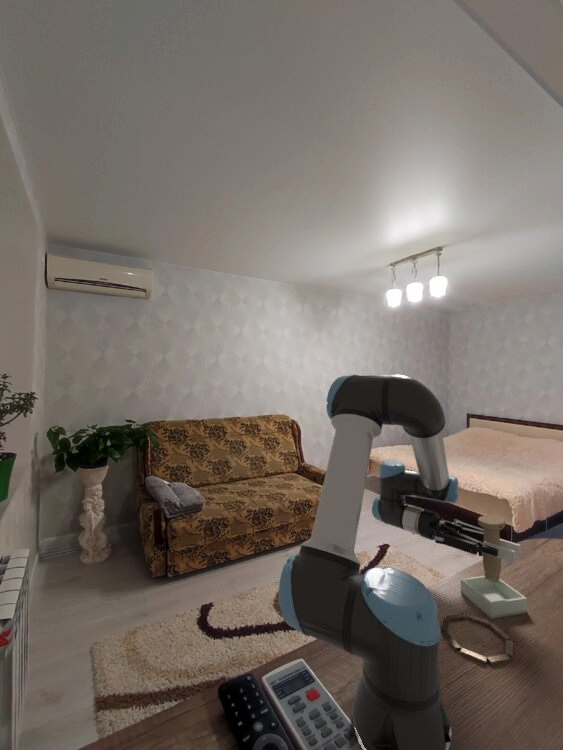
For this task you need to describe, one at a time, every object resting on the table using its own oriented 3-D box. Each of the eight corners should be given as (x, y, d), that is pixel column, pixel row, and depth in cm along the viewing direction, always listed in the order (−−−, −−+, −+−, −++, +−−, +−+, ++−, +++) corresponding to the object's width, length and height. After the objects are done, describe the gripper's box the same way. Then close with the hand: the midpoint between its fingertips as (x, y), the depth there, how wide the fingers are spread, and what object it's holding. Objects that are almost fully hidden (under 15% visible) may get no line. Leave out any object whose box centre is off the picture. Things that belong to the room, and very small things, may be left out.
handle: (510, 581, 84) (509, 521, 84) (491, 587, 82) (491, 525, 82) (492, 571, 88) (491, 514, 88) (474, 576, 86) (473, 517, 86)
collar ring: (471, 670, 65) (471, 666, 65) (429, 621, 78) (429, 618, 78) (529, 658, 68) (529, 654, 68) (479, 613, 81) (479, 610, 81)
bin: (491, 618, 79) (491, 603, 79) (460, 592, 89) (460, 578, 89) (527, 612, 81) (527, 598, 81) (493, 587, 91) (493, 574, 91)
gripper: (435, 526, 104) (527, 557, 86) (408, 545, 93) (506, 584, 75) (435, 502, 104) (527, 527, 86) (407, 517, 93) (506, 550, 75)
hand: (517, 554), depth 81 cm, fingers closed on handle, 3 cm apart
